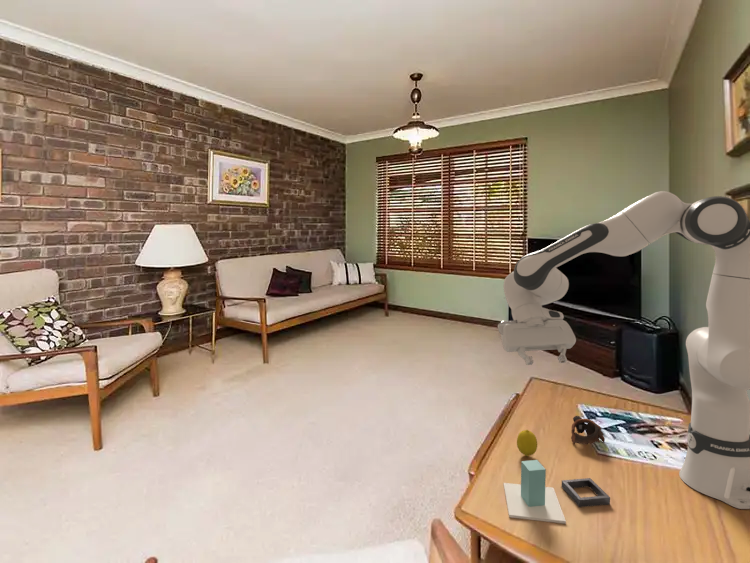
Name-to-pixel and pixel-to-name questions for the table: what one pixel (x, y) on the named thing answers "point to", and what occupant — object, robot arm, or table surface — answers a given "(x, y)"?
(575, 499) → the metal cradle
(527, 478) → the teal block
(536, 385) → the table surface
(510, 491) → the white mat
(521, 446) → the lemon
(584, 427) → the pottery mug
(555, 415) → the table surface
